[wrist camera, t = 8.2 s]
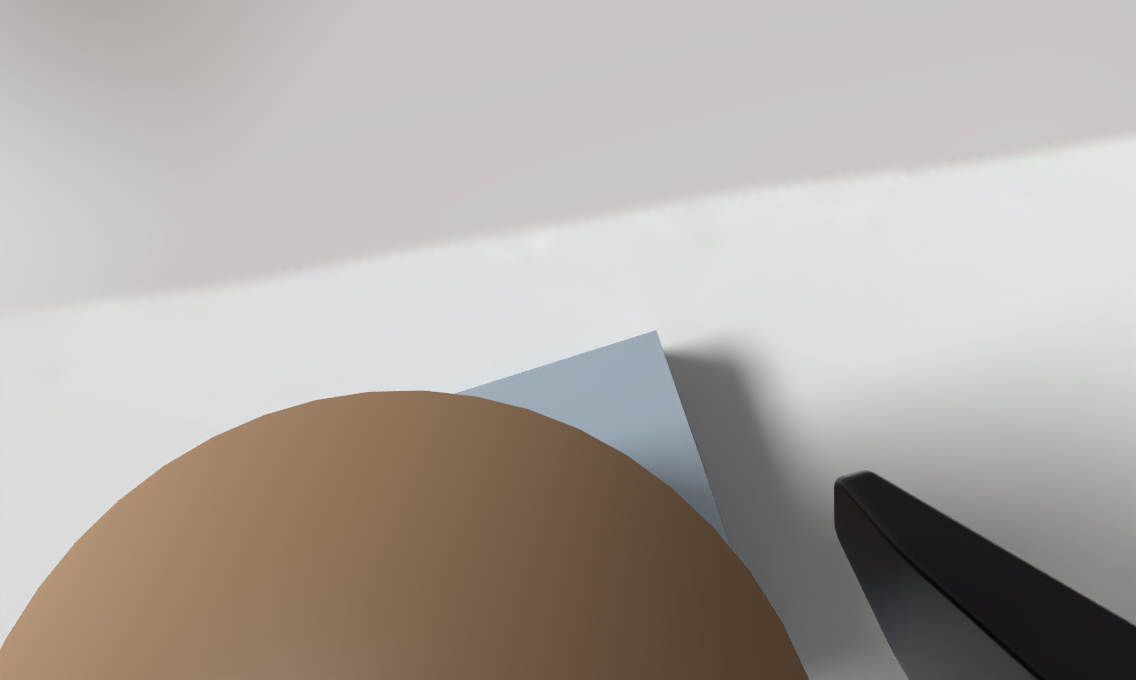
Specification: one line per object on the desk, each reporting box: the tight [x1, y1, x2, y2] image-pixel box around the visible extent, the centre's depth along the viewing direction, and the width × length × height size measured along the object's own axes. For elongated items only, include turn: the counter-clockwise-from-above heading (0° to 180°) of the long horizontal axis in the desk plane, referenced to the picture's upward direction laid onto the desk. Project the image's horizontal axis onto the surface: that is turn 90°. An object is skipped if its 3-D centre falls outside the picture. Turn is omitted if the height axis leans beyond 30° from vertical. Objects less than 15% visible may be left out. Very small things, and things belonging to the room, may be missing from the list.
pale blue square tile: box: [456, 331, 732, 549], centre depth 19 cm, size 9×9×3 cm
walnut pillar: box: [0, 391, 809, 680], centre depth 11 cm, size 5×5×14 cm
